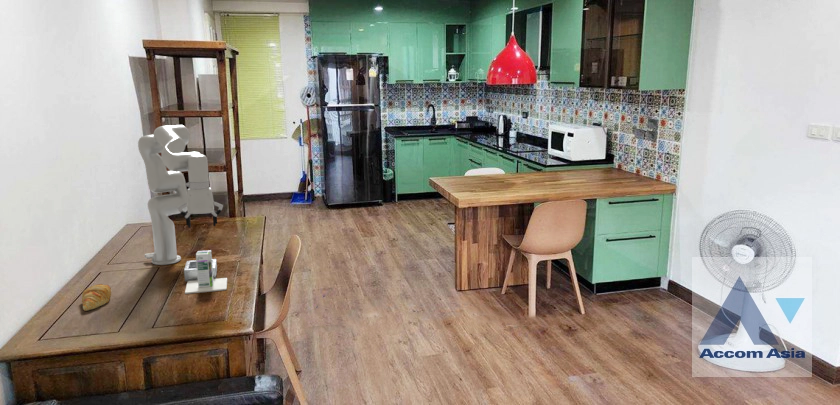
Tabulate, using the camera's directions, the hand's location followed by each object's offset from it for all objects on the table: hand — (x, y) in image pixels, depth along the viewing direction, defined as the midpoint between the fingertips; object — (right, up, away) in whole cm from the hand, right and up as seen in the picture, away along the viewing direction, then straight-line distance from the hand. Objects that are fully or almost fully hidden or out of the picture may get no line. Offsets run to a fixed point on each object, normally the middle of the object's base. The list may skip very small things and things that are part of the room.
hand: (202, 226), depth 229 cm
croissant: (-37, -29, -11) cm, 48 cm away
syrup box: (-1, -25, +6) cm, 26 cm away
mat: (0, -26, +6) cm, 26 cm away
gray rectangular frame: (-8, -22, +21) cm, 32 cm away
